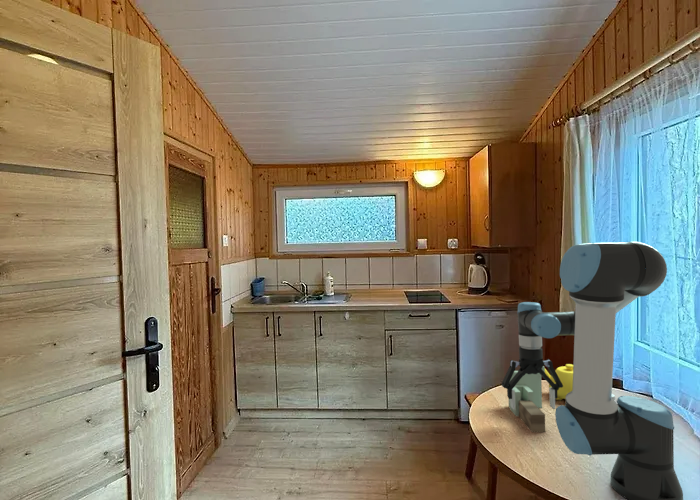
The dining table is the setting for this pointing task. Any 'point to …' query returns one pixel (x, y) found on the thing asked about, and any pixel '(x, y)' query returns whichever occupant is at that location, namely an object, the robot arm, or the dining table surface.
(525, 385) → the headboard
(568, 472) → the dining table surface
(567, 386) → the teapot
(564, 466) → the dining table surface
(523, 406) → the rail
